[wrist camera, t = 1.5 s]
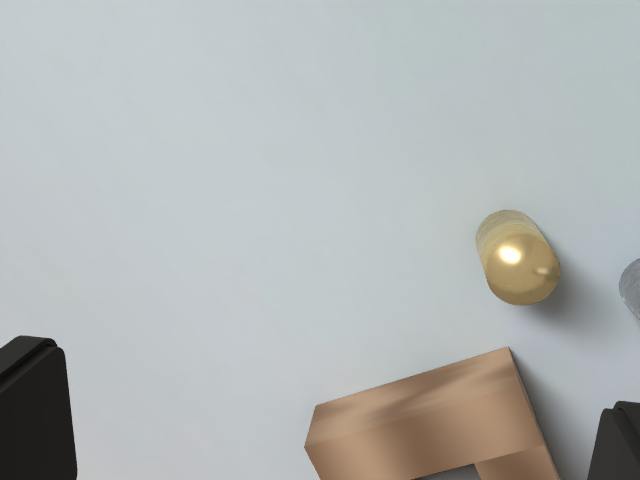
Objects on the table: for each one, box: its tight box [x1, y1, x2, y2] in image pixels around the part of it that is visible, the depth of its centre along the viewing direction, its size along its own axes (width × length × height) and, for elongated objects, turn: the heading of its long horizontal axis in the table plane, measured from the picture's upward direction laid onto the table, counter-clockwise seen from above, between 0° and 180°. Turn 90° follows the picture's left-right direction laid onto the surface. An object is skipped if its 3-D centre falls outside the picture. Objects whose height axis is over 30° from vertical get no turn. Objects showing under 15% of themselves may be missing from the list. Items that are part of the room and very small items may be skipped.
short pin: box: [476, 210, 560, 305], centre depth 29 cm, size 3×3×5 cm
